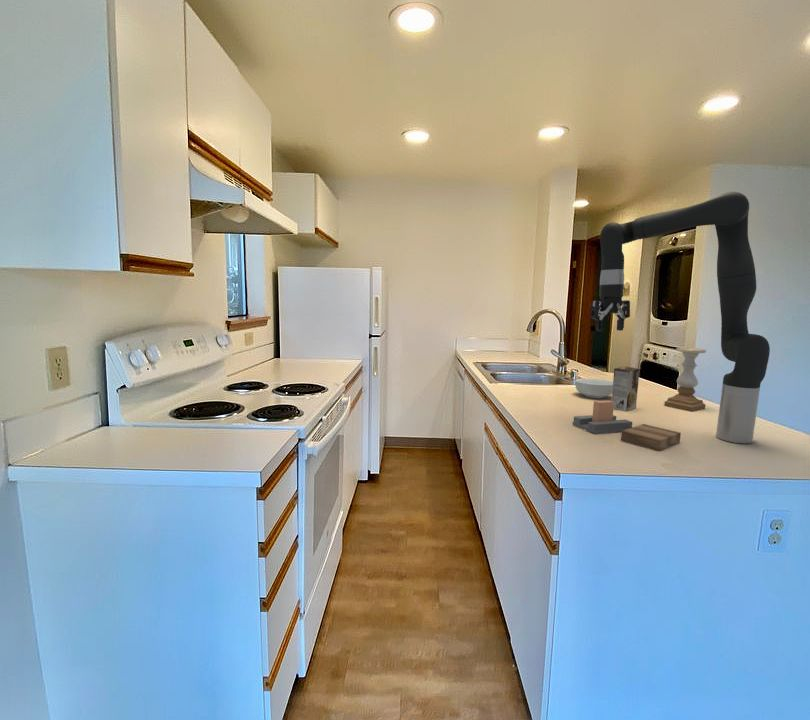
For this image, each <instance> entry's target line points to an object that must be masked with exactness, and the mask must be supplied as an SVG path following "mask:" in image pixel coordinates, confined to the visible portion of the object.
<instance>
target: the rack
mask: <svg viewBox="0 0 810 720" xmlns="http://www.w3.org/2000/svg"><path fill="white" fill-rule="evenodd" d="M592 417H593V414H592V415H590V414H589V415H577V416H573V421H572V424H573V425H572V426H574V425H575V427H577V426H578V427H577V428H579V427H580V429H581V428H582V429H581V430H584V429H585V430H584V431H586V430H587V431H586V432H588V431H589V432H588V433H590V434H594V435H603V434H617V433H622V431H623V430H627V429H630V428H633V421H631V420H629V419H617V416H616V415H614V414H613V419H612V420H611V421H597V422H592Z"/></svg>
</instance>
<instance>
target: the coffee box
mask: <svg viewBox="0 0 810 720" xmlns="http://www.w3.org/2000/svg"><path fill="white" fill-rule="evenodd" d="M639 379H640V368H636V367H631V366H619V367H616V368H614V369H613V379H612V381H613V389H612V395H611V400H610V401H612V402H614V408H613V410H614V409H615V410H617V411H624V412H629V411H631V410H634V409H636V408H637V400H638V391H639V390H638V388H639Z"/></svg>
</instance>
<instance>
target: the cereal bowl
mask: <svg viewBox="0 0 810 720" xmlns="http://www.w3.org/2000/svg"><path fill="white" fill-rule="evenodd" d="M574 386H575V389H576V391H577V392H578V393H580V394H582V395H584V396H585V397H587V398H589V399H590V398H591V399H600V400H601V399H604V398H606V397H609V396H612V389H613V380H609V379H603V378H592V377H591V378H588V377H587V378H576V379H575V380H574Z"/></svg>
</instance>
